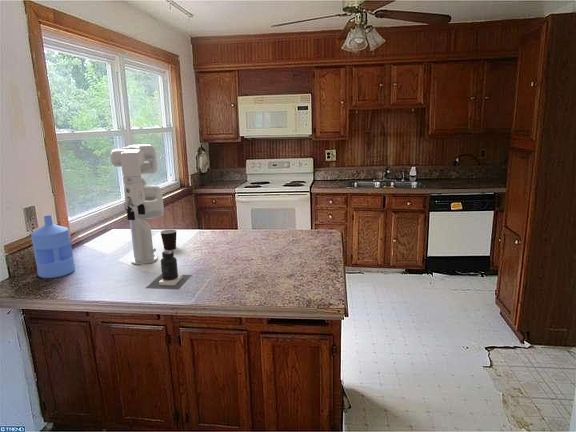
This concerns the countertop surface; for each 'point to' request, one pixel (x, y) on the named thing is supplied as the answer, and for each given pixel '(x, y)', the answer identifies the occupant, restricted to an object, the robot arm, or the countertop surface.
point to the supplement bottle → (169, 266)
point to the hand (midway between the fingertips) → (136, 217)
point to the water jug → (52, 250)
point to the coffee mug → (169, 239)
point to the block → (171, 281)
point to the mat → (156, 285)
